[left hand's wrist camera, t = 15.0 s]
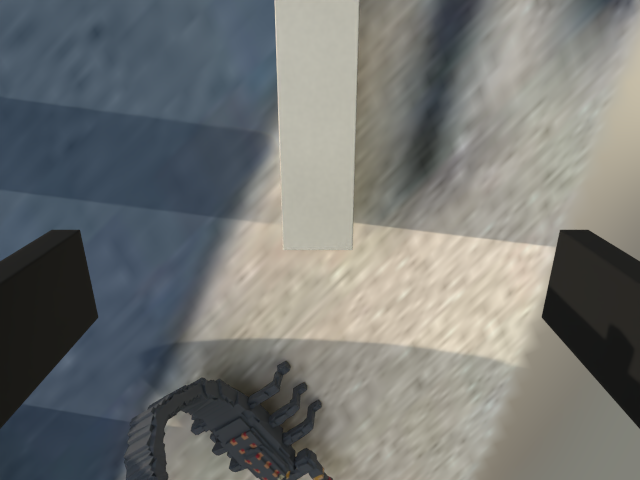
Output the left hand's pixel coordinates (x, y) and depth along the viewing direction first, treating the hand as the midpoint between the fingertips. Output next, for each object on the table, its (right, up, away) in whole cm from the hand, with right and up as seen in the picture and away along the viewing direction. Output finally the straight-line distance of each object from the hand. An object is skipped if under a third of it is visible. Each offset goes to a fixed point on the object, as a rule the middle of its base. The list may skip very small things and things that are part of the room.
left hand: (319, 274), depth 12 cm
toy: (-7, -20, +39) cm, 45 cm away
